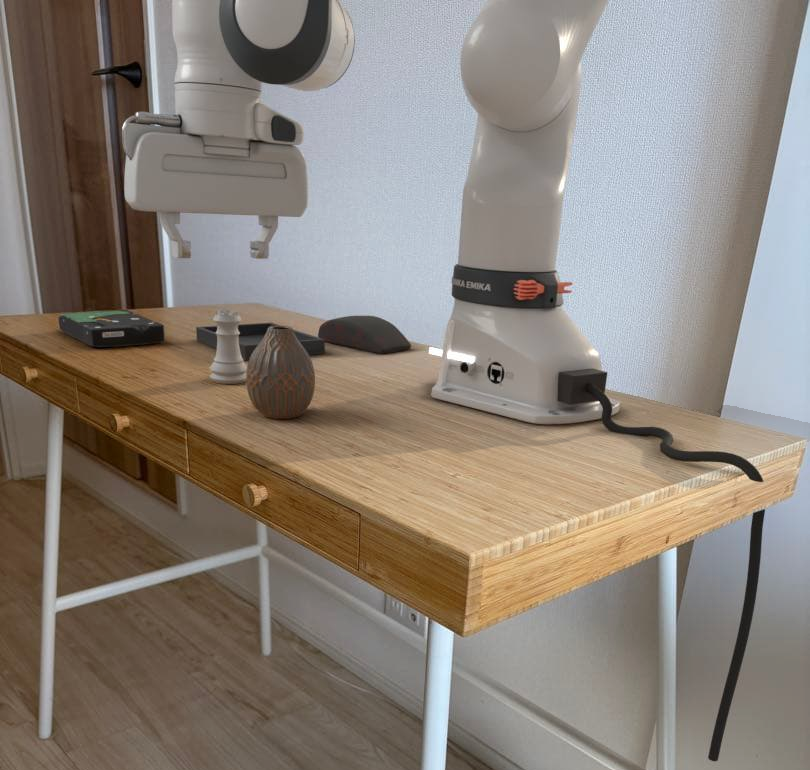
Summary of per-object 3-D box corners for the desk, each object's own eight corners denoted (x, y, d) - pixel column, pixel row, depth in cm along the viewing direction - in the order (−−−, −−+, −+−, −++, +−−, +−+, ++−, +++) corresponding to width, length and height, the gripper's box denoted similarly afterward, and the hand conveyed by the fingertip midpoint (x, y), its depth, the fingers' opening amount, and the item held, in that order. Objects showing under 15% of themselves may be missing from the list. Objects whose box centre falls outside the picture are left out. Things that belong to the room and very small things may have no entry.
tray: (324, 353, 116) (324, 339, 115) (245, 360, 109) (245, 345, 108) (271, 335, 127) (271, 322, 126) (196, 341, 120) (196, 327, 119)
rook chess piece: (252, 377, 100) (251, 309, 97) (242, 385, 96) (240, 315, 93) (216, 375, 100) (213, 307, 97) (204, 383, 96) (201, 312, 93)
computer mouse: (349, 335, 130) (349, 309, 129) (415, 349, 122) (416, 321, 121) (311, 340, 125) (311, 313, 123) (378, 355, 117) (379, 326, 115)
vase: (276, 427, 81) (275, 335, 78) (233, 412, 85) (230, 325, 82) (328, 415, 86) (329, 329, 82) (285, 402, 90) (284, 319, 86)
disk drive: (167, 344, 117) (127, 326, 127) (166, 324, 116) (125, 308, 126) (93, 350, 111) (57, 331, 121) (91, 329, 110) (55, 311, 120)
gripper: (132, 108, 79) (141, 261, 84) (316, 128, 91) (313, 261, 96) (109, 109, 83) (119, 254, 89) (287, 128, 95) (286, 255, 101)
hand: (221, 258), depth 93 cm, fingers open, 8 cm apart
